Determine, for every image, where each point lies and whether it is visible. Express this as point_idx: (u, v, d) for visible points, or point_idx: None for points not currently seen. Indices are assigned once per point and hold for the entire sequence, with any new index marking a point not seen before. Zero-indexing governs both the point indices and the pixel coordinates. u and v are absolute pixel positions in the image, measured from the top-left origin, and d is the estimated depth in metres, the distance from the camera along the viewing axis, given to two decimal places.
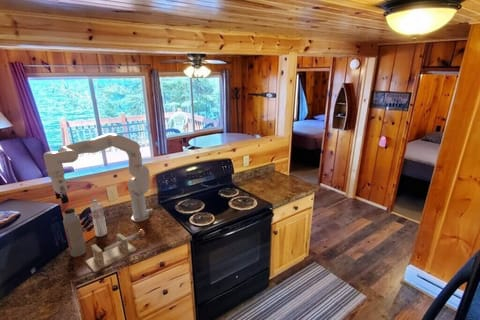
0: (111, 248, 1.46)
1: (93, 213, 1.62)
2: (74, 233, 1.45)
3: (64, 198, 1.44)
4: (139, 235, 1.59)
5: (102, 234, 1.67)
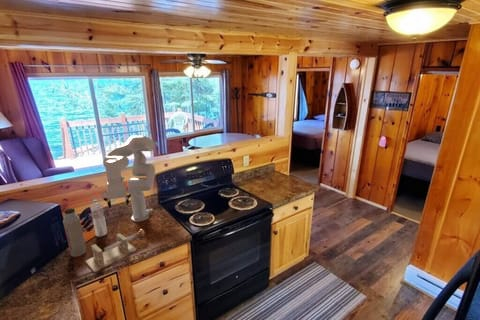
0: (111, 248, 1.46)
1: (93, 213, 1.62)
2: (74, 233, 1.45)
3: (128, 199, 1.58)
4: (139, 235, 1.59)
5: (102, 234, 1.67)
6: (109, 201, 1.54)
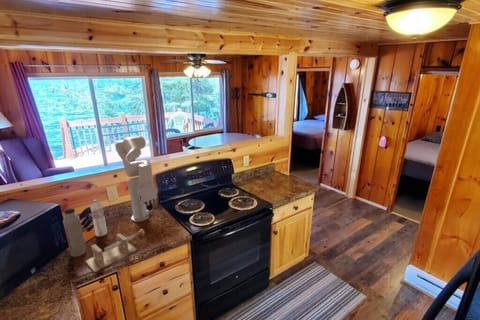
0: (111, 248, 1.46)
1: (93, 213, 1.62)
2: (74, 233, 1.45)
3: None
4: (139, 235, 1.59)
5: (102, 234, 1.67)
6: (149, 204, 1.61)
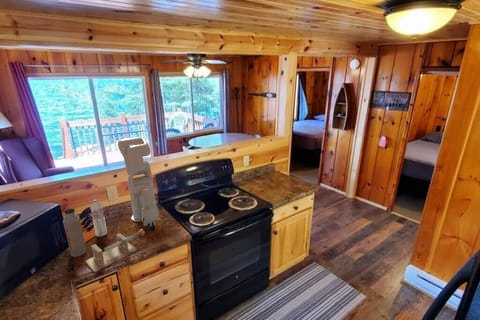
0: (111, 248, 1.46)
1: (93, 213, 1.62)
2: (74, 233, 1.45)
3: None
4: (139, 235, 1.59)
5: (102, 234, 1.67)
6: (152, 225, 1.65)
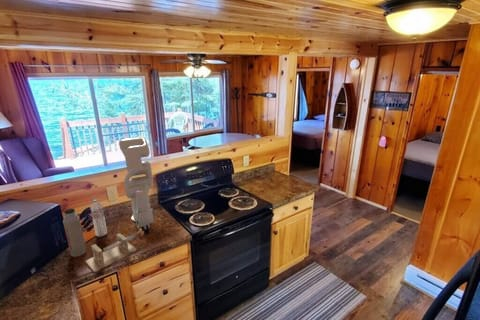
0: (110, 248, 1.46)
1: (93, 213, 1.62)
2: (74, 233, 1.45)
3: None
4: (138, 235, 1.59)
5: (102, 234, 1.67)
6: (146, 228, 1.63)
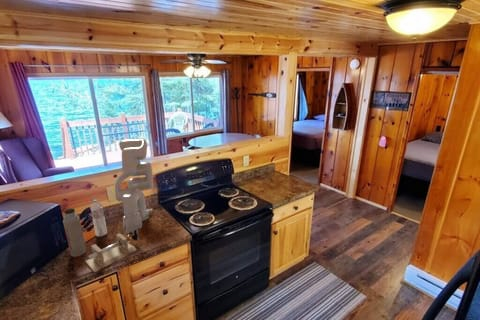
0: (95, 255, 1.40)
1: (93, 213, 1.62)
2: (74, 233, 1.45)
3: None
4: None
5: (102, 234, 1.67)
6: (134, 234, 1.57)
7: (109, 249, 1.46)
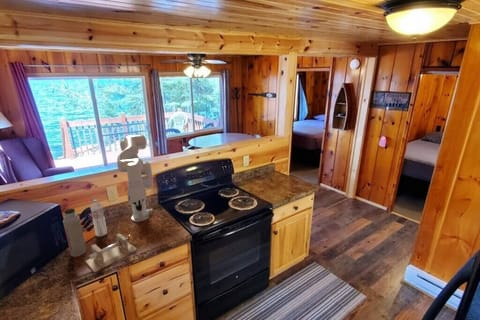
0: (96, 255, 1.40)
1: (93, 213, 1.62)
2: (74, 233, 1.45)
3: None
4: (127, 241, 1.53)
5: (102, 234, 1.67)
6: None
7: (110, 249, 1.46)
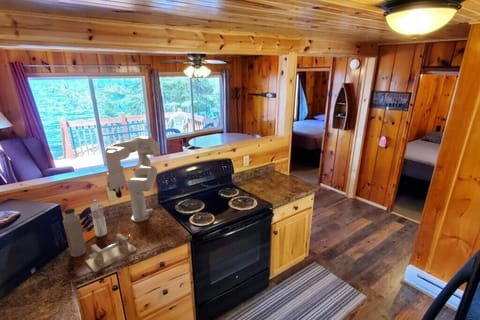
0: (96, 255, 1.40)
1: (93, 213, 1.62)
2: (74, 233, 1.45)
3: None
4: (127, 241, 1.53)
5: (102, 234, 1.67)
6: (118, 191, 1.60)
7: (110, 249, 1.46)
